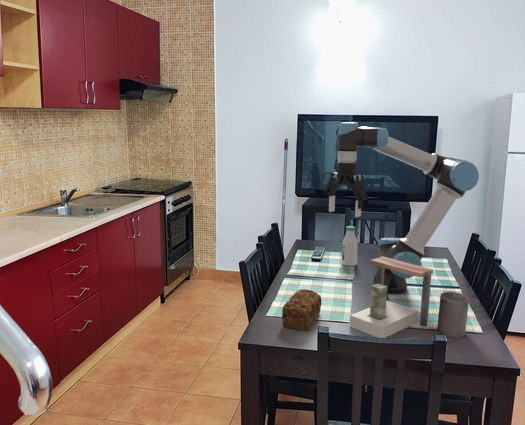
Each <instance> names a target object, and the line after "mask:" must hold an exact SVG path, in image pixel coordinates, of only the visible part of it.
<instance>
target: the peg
mask: <svg viewBox="0 0 525 425" xmlns="http://www.w3.org/2000/svg"><path fill="white" fill-rule="evenodd" d="M370 292H371V293H370V307H369V308H370V317H372V318H374V319H377V320H382V319H384V318H385V317H386V301H388V300H387V297H388V293H387V286H385V285H382V284H375V285H371V290H370Z"/></svg>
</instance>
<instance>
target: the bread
mask: <svg viewBox="0 0 525 425" xmlns="http://www.w3.org/2000/svg"><path fill="white" fill-rule="evenodd" d="M321 307H322V297H321V295H320V294H318V293H317V292H316V291H313V290H312V289H311V290H310V289H306V288H304V289H298V290H297V291H296V292H294V294H292V295H291V297H290V298H289V299H288V300H287V301H286V302H285V303H284V304H283V307H282V308H281V309H282V310H281V317H282V318H281V321H282V326H283V327H284V328H287V329H290V330H291V329H294V330H295V329H296V330H298V331H304V332H308V331H309V329H310V328H311V327H312V326H313V325H314V323H315V321H317V319H318V317H320V316H319V315H320V313H321V309H322V308H321Z"/></svg>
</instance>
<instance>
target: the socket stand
mask: <svg viewBox="0 0 525 425" xmlns="http://www.w3.org/2000/svg"><path fill="white" fill-rule="evenodd" d="M369 264H370V265H373V266H376V267H377V269H376V272H377V284H382V285H384V272H385V268H387V269H391V270H394V271H398V272H402V273H405V274H409V275H413V277H416V278H417V277H418V278H420V279H421V278H422V286H421V289H422V290H421V302H420V303H421V305H420V313H419V310H417V309H414V308H411V307H408V306H405V305H401V304H399V303H396V302H394V301H393V302H392V301H390V300H387V301H386V317H385V318H384V319H382V320H377V319H374V318H372V317H370V307H368V308H364V309H363V310H360V311H357V312H355V313H352V314H350V316H349V327H350V328H353V329H355V330H357V331H360V332H361V333H365V334H367V335H370V336H372V337H375V338H377V337H379V338H384V339H386V338H387V337H389V336H392V335H393V334H396V333H397V332H400V331H403V330H405V329H406V328H409V327H411V326H413V325H414V323H415V324H417V323H419V326H421V327H424V328H425V327H427V326H428V324H429V322H428V320H429V310H430V297H431V283H432V282H431V281H432V274H433V273H434V269H433V268H430V267H429V268H428V267H426V266H422V265H421V266H418V265H414V264H410V263H406V262H402V261H398V260H395V259H391V258H387V257H383V256H382V257H379V258H378V257H377V258H372V259H370V260H369ZM419 314H420V315H419ZM412 324H413V325H412ZM410 325H411V326H410ZM408 326H409V327H408ZM379 338H378V339H379Z"/></svg>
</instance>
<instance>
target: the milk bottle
mask: <svg viewBox="0 0 525 425" xmlns="http://www.w3.org/2000/svg"><path fill="white" fill-rule="evenodd" d="M345 231H346V232H345V235H344V238H343V240H342V243H341V244H342V249H341V265H342V266H345V267H355V266H357V262H358V239H357V237H356V234H355V231H356V226H352V225H348V226H347V225H346V226H345Z"/></svg>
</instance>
